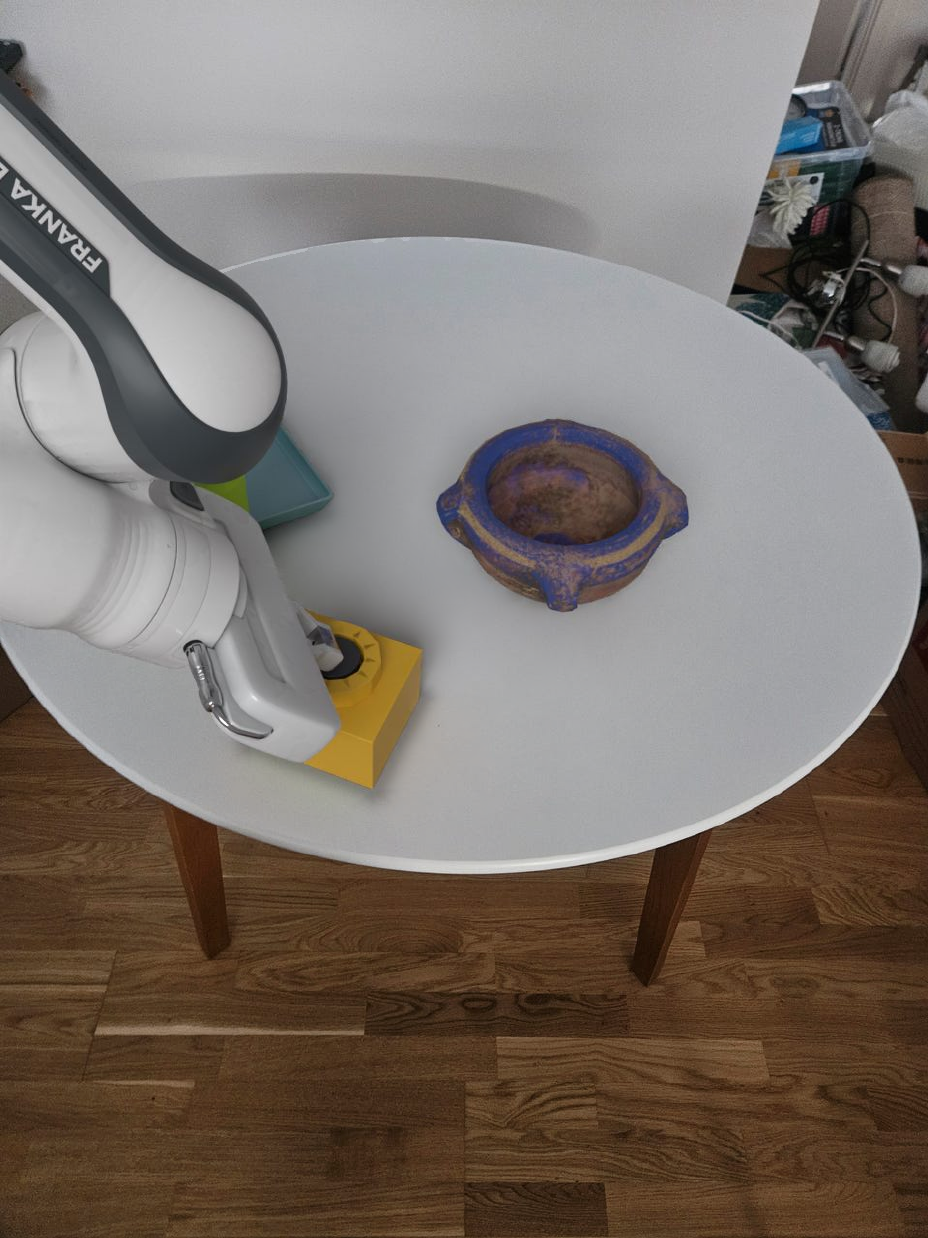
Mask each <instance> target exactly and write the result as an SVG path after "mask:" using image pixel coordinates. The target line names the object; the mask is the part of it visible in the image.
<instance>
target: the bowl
mask: <svg viewBox="0 0 928 1238" xmlns="http://www.w3.org/2000/svg"><path fill="white" fill-rule="evenodd" d="M435 507H436V509H435V510H436V513H437V516H438V518H439V521H440V524H441V525H442V526H443V528H444V530H445V531H446V532H447V533H448V534H449V536H451V537H452V539H454V540H455V541H457V542H458V543H460V544H461V545H462V546H464V547H465V548H466V549H467V550H470V552H471V553H472V555H473V557H474V558H475V560H476V561H477V562H478V564H479V565H480V566H481V568H482V569H483V570H484V571H485V572H486V573H487V574H488V575H489V576H490V577H491V578H493V579H494V580H495V581H496V582H498V583H499V584H500V585H502V586H503V587H505V588H507V589H509V591H512V592H513V593H516V594H518V595H519V596H523V597H525V598H526V599H530V600H533V601H537V602H539V603H542V604H546V606H547V607H548V609H549V610H551V611H555V612H560V613H567V612H573V611H574V610H576V609H578V605H584V604H589V603H593V602H596V601H598V600H602V599H605V598H607V597H610V596H612V595H615V594H617V593H618V592H620V591H621V590H623V589H624V588H626V587H628V586H629V585H630V584H632V582H634V581H635V580H636V579H637V578H638V577H639V576H640V575H641V574H642V573H643V571H644V570H645V569H646V567H647V565H648V564H649V562H650V560H651V559H652V557H653V556H654V554H655V553H656V552H657V550H658V548H659V547H660V545H661V543H662V542H663V541H664V540H666V539H669V538H671V537H673V536H674V535H675V534H678V533H680V532H682V531H683V530H684V529H685V528H688V526H689V522H690V514H689V512H690V511H689V506H688V500H687V495H686V493H685V492H684V491H683V489H682V488H680V487H679V486H678V485H676V484H675V483H674V482H672V480H670V479H669V478H668V477H667V476H666V475H664V474H663V473H662V471H661V470H660V469H659V467H658V466H657V465H656V464H655V462H653V460H652V459H651V458H650V456H649V455H648V454H647V453H645V452H644V451H643V450H642V449H641V448H639V447H638V446H636V445H635V444H634V443H632V442H631V441H630V440H628V439H626V438H624V437H621V436H619V435H618V434H615V433H613V432H611V431H609V430H606V429H603V428H600V427H595V426H592V425H588V424H584V423H580V422H577V421H575V420H570V419H563V418H554V419H553V418H547V419H543V420H540V421H535V422H534V421H533V422H529V423H525V424H522V425H518V426H514V427H511V428H507V429H504V430H503V431H501V432H499V433H497V434H496V435H494V436H492V437H490V438H488V439H487V440H485V441H484V442H483V443H482V444H481V445H480V446H479V447H478V448H477V449H476V450H474V452H473V453H472V454H471V455H470V456H469V458H468V460H467V461H466V463H465V465H464V467H463V469H462V471H461V473H460V475H459V476H458V478H457V479H456V482H455V483H453V484H452V485H451V486H449V487H447V489H445V490H444V491H442V492H441V493H440V494H439V495H438V498H437V499H436V502H435Z"/></svg>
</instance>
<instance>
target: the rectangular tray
mask: <svg viewBox="0 0 928 1238" xmlns="http://www.w3.org/2000/svg"><path fill="white" fill-rule="evenodd" d="M245 481H246V489H247V497H248V505H249V513H250V515H251V516H252V517H253V518H254V519H255V520H256V521H257V523H258V524H259V525H260V527H261V530H262V531H263V530H266V529H270V528H272V527H276V526H278V525H281V524H282V525H283V524H284V523H288V522H290V521H294V520H297V519H299V518H303V517H305V516H308V515H311V514H314V513H318V512H320V511H322V510H323V509H325V507H326V506H327V505H328V504H329V502H330V501H331V500H332V499H333V498H334V492H333V490H332V489H331V488H330V487H329V485H328V484H327V482H325V480H324V479H323V477H322V476H321V475H320V474H319V472H318V471H317V469H316V468H315V466H314V465H313V464H312V463H311V461H310V460H309V459H308V457H307V456H306V455H305V453H304V452H303V451H302V450H301V449H300V447H299V446H298V444H297V443H296V441H295V440H294V438H292V436H291V435H290V434H289V432H288V431H287V429H286V428H285V427H284V425H283V424H282V423H281V425H280V428H279V431H278V433H277V435H276V437H275V439H274V441H273V443H272V445H271V446H270V448H269V449H268V451H267V453H266V454H265V455H264V457H263V458H262V459H261V460H260V462H259V463H258V464H257V465H256V466H255V467H254V468H252V469H251V470H250V471H249V472H247V473H246V474H245Z"/></svg>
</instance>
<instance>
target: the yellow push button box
mask: <svg viewBox="0 0 928 1238" xmlns="http://www.w3.org/2000/svg"><path fill="white" fill-rule="evenodd" d="M303 609H304V610H305V611H307V612H308V613H309V614H310V615H311V616H312V617H313V618H314V619H315V620H317V621H319V622H322V623H324V624H327V625H329V626H330V628H331V630H332V632H333V635H334V637H341V638H345V639H348V640H350V641H351V642H353V643H354V644H355V645H356V646H357V648H358V650H359V652H360V669H359V670H358V672H356V673H354V674H353V675H351V676H349V677H347V678H346V679H337V680H327V679H324V678H323V679H324V681H325V684H326V686H327V689H328V691H329V693H330V696H331V698H332V701H333V703H334V705H335V708H336V710H337V712H338V715H339V717H340V720H341V729H340V730H339V732H338V733H337V734H336V736H335V737H334V738H333V739H332V740H331V741H330V742H329V743H328V744H327V745H326V746H325V747H324V748H323V749H322V750H321V751H320V752H319V753H317V754H316V755H315V756H314V757H312V758H311V759H309V760H307V761H305V762H302V763H301V764H304V765H307V766H309V767H312V768H315V769H316V770H320V771H323V772H326V773H328V774H330V775H333V776H336V777H338V778H341V779H344V780H347V781H349V782H352V783H354V784H357V785H360V786H363V787H365V788H368V789H370V790H374V787H375V785H376V784H377V782H378V780H379V778H380V776H381V774H382V772H383V770H384V768H385V766H386V765H387V762H388V761H389V758H390V757H391V754H392V752H393V751H394V749H395V746H396V745H397V743H398V741H399V739H400V737H401V735H402V733H403V731H404V729H405V727H406V725H407V724H408V721H409V719H410V718H411V715H412V714H413V711H414V709H415V707H416V706H417V704H418V701H419V700H420V693H421V676H422V665H423V664H422V663H423V662H422V661H423V648H422V649H421V648H420V647H416V646H413V645H410V644H407V643H405V642H402V641H399V640H396V639H393V638H390V637H387V636H384V635H381V634H378V633H377V632H376V633H375V632H374V631H370V630H368V629H366V628H365V627H362V626H359V625H356V624H353V623H350V622H347V621H344V620H339V619H336V618H332V617H330V616H326V615H323V614H320V613H317V612H315V611H312V610H309V609H306V608H303Z"/></svg>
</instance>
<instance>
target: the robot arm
mask: <svg viewBox="0 0 928 1238" xmlns="http://www.w3.org/2000/svg"><path fill="white" fill-rule="evenodd" d="M0 275H1V276H2V277H3V278H4V279H5V280H7V281H8V282H9V283H10V284H11V285H12V286H13V287H14V288H16V289H17V290H18V291H19V292H20V293H21V294H22V295H23V296H25V298H27V299H28V300H29V301H30V302H31V303H32V304H33V305H34V306H36V307H37V308H38V309H39V310H38V311H35V312H32V313H30V314H27V315H25V316H23V317H21V318H19V319H16V320H15V321H14V322H12V323H11V324H9V325H8V326H6V327H5V329H3V330H2V331H1V332H0V620H1V621H4V622H7V623H11V624H14V625H18V626H20V627H24V628H29V629H33V630H58V631H63V632H67V633H70V634H73V635H75V636H77V637H78V638H79V639H81V640H82V641H84V642H85V643H87V644H88V645H91V646H93V647H95V648H98V649H100V650H104V651H108V652H111V653H114V654H117V655H121V656H124V657H128V658H131V659H135V660H138V661H141V662H146V663H149V664H153V665H155V666H159V667H162V668H166V669H172V670H179V669H184V668H187V667H189V668H190V671H191V674H192V676H193V678H194V681H195V682H196V685H197V688H198V697H199V701H200V703H201V705H202V707H203V709H204V710H205V712H207V713H209V715H210V717H211V719H212V721H213V723H214V724H215V725H216V726H217V728H218V729H219V730H220V731H221V732H222V733H224V734H225V735H226V736H227V737H229V738H230V739H232V740H235V741H236V742H238V743H240V744H243V745H244V746H247V747H250V748H252V749H254V750H257V751H259V752H262V753H265V754H267V755H270V756H273V757H276V758H280V759H282V760H285V761H289V762H292V763H298V764H299V763H300V764H303V763H302V762H305V761H307V760H309V759H311V758H312V757H314V756H315V755H316V754H317V753H319V752H320V751H321V750H322V749H323V748H324V747H325V746H326V745H327V744H328V743H329V742H330V741H331V740H332V739H333V738H334V737H335V736H336V734H337V733H338V732H339V730H340V729H341V720H340V717H339V715H338V712H337V710H336V708H335V705H334V703H333V701H332V698H331V696H330V693H329V691H328V689H327V686H326V684H325V681H324V679H323V677H322V674H321V672H320V670H323V671H330V670H333V669H334V668H335V667H336V666H337V665H338V664H339V663H340V662H341V661H342V660H343V655H342V653H341V651H340V648H339V646H338V644H337V642H336V639H335V637H334V635H333V632H332V630H331V628H330V626H329V625H327V624H324V623H322V622H319V621H317V620H315V619H314V618H313V617H312V616H311V615H310V614H309V613H308V612H307V611H305V610H304V609H305V608H303V606H301V605H300V604H299V603H298V602H297V601H296V600H294V599H292V598H290V595H289V593H288V590H287V587H286V585H285V583H284V581H283V579H282V576H281V574H280V571H279V569H278V567H277V564H276V561H275V560H274V557H273V555H272V552H271V550H270V547H269V544H268V542H267V540H266V538H265V536H264V533H263V530H261V527H260V525H259V524H258V523H257V521H256V520H255V519H254V518H253V517H252V516H251V515H250V514H249V513H248V512H247V511H245V510H244V509H243V508H241V507H240V506H238V505H236V504H234V503H232V502H231V501H229V500H227V499H225V498H223V497H221V496H219V495H217V494H215V493H213V492H211V491H209V490H207V489H205V488H202V487H199V486H194V484H193V483H199V484H221V483H226V482H229V481H232V480H235V479H237V478H239V477H241V476H243V475H244V474H246V473H247V472H249V471H250V470H251V469H252V468H254V467H255V466H256V465H257V464H258V463H259V462H260V460H261V459H262V458H263V457H264V455H265V454H266V453H267V451H268V449H269V448H270V446H271V445H272V443H273V441H274V439H275V437H276V435H277V433H278V431H279V428H280V425H281V424H282V422H283V420H284V416H285V411H286V406H287V401H288V400H287V399H288V387H289V386H288V383H289V381H288V370H287V364H286V358H285V355H284V350H283V348H282V346H281V342H280V339H279V337H278V334H277V333H276V331H275V328H274V327H273V325H272V323H271V321H270V319H269V318H268V316H267V314H266V313H265V311H263V308H261V306H260V305H259V304H258V302H257V301H256V300H255V299H254V298H253V297H252V296H251V295H250V294H249V292H248V291H246V289H245V288H244V287H242V286H241V285H240V284H239V283H237V282H236V281H235V280H234V279H232V278H231V277H229V276H228V275H226V274H225V273H223V272H222V271H220V270H219V269H217V268H215V267H213V266H212V265H210V264H208V263H207V262H205V261H203V260H202V259H201V258H199V257H197V256H196V255H194V254H192V253H190V252H189V251H188V250H186V249H185V248H183V247H182V246H180V245H179V244H178V243H177V242H176V241H175V240H173V239H171V237H170V236H168V235H167V234H165V232H164V231H163V230H161V229H160V228H159V227H158V226H157V225H156V224H155V223H154V222H153V221H152V220H150V219H149V217H148V216H146V215H145V213H144V212H143V211H141V210H140V208H139V207H137V206H136V204H135V203H133V201H132V200H131V199H130V198H129V197H127V195H126V194H125V193H124V192H123V191H122V190H121V189H120V188H119V187H118V186H117V185H116V184H115V183H114V182H113V181H112V180H111V179H110V178H109V177H108V176H107V175H106V174H105V173H104V171H102V170H101V169H100V167H98V165H96V164H95V162H93V161H92V159H90V157H89V156H87V154H85V152H84V151H83V150H82V149H81V148H80V147H79V146H78V145H77V144H76V143H75V142H74V141H73V140H72V139H71V138H70V137H69V135H67V134H66V133H65V132H64V131H63V130H62V128H60V127H59V126H58V125H57V124H56V123H55V122H54V121H53V120H52V118H50V117H49V115H48V114H46V113H45V111H44V110H42V108H41V107H40V106H39V105H37V104H36V102H35V101H34V100H32V98H31V97H30V96H29V95H28V94H27V93H26V92H25V91H24V90H23V89H22V88H21V87H20V86H19V85H18V84H17V82H15V81H14V80H13V79H12V77H11V76H9V75H8V74H7V73H6V72H5V70H3V68H1V67H0Z"/></svg>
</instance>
